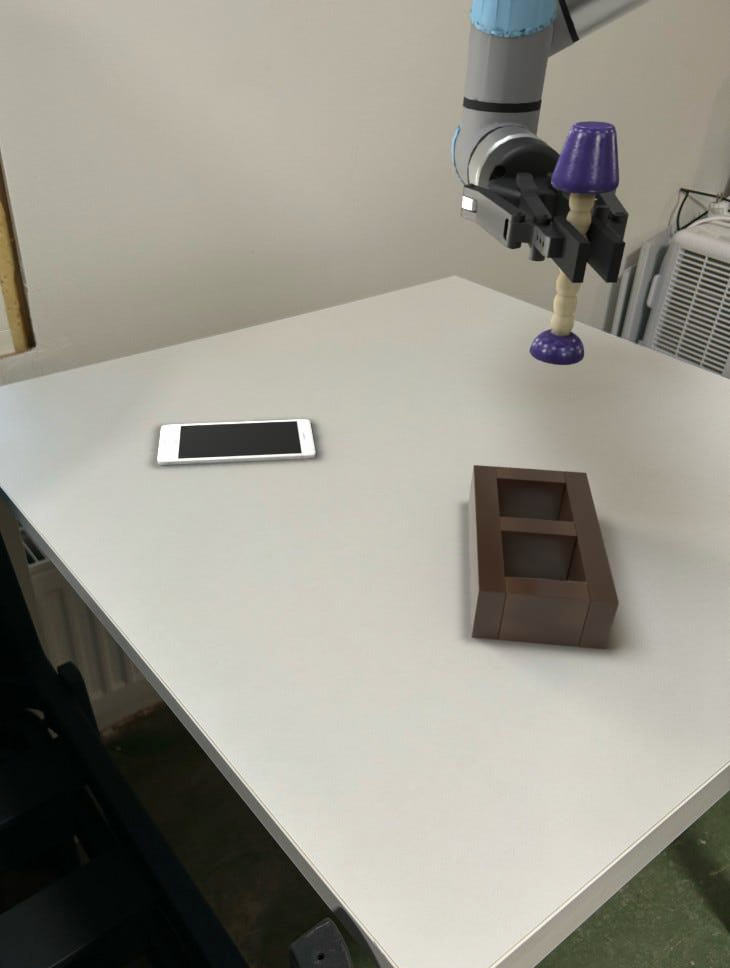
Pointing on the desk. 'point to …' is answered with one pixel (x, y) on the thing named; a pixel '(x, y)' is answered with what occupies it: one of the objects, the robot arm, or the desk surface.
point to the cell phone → (235, 442)
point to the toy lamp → (577, 226)
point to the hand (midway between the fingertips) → (598, 263)
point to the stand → (538, 559)
